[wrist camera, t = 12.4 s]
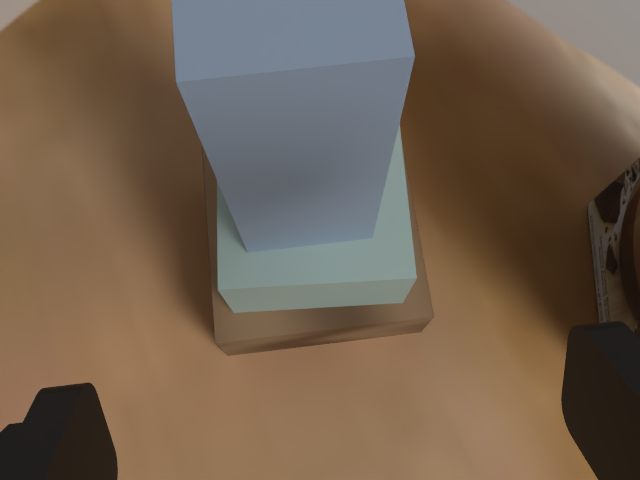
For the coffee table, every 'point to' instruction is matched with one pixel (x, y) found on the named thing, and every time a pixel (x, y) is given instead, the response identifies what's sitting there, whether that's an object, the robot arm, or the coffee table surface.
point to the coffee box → (618, 249)
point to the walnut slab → (312, 323)
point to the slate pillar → (296, 110)
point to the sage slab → (323, 261)
